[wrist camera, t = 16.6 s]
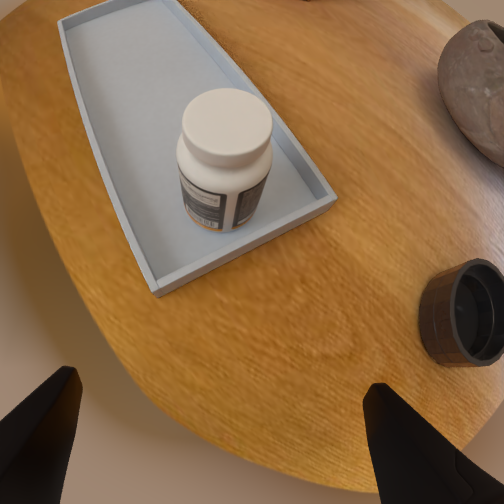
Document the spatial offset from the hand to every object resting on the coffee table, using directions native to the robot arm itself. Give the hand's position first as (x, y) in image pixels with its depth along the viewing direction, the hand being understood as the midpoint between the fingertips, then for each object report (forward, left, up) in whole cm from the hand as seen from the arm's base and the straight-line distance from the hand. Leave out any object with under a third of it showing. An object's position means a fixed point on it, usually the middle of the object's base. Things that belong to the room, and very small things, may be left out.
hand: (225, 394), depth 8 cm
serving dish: (+6, +26, -14) cm, 30 cm away
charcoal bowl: (+20, -8, -14) cm, 25 cm away
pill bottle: (+6, +11, -13) cm, 18 cm away
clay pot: (+43, +7, -14) cm, 46 cm away
